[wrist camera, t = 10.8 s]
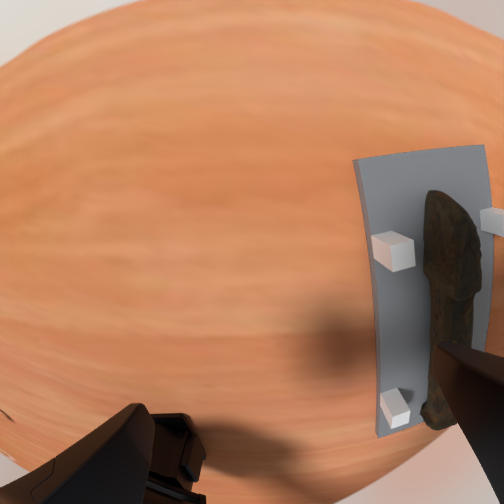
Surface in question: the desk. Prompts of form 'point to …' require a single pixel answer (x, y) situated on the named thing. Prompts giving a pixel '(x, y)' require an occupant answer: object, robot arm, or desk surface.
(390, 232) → the plate
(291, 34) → the desk surface
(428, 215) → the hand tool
